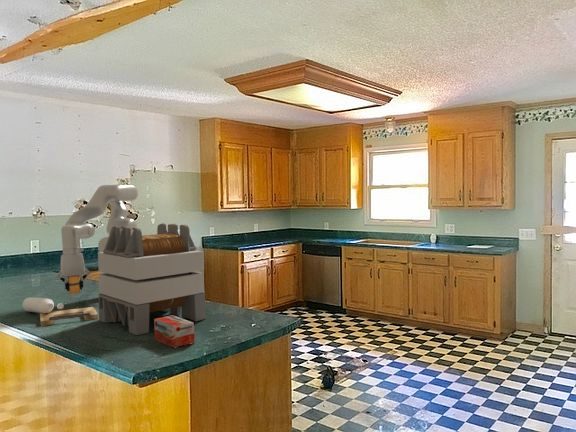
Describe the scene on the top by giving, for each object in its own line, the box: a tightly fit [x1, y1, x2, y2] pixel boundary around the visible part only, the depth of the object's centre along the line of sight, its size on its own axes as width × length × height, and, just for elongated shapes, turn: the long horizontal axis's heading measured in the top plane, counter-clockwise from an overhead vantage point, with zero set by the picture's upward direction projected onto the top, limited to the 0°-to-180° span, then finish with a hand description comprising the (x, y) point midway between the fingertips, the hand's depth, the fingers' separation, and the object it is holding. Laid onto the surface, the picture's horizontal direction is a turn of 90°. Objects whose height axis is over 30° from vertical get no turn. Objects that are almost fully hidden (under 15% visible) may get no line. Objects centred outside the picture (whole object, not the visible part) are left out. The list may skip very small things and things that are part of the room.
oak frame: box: [39, 306, 99, 327], centre depth 208 cm, size 22×16×3 cm
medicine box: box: [153, 314, 195, 349], centre depth 172 cm, size 15×8×8 cm, turn 44°
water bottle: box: [21, 296, 65, 314], centre depth 214 cm, size 9×6×25 cm
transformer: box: [97, 222, 207, 336], centre depth 203 cm, size 34×33×41 cm
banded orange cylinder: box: [68, 275, 81, 295], centre depth 223 cm, size 5×5×8 cm
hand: (74, 289), depth 223 cm, fingers closed on banded orange cylinder, 5 cm apart
